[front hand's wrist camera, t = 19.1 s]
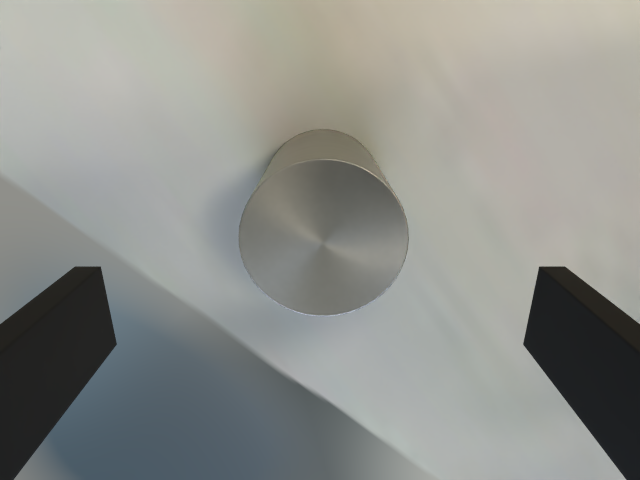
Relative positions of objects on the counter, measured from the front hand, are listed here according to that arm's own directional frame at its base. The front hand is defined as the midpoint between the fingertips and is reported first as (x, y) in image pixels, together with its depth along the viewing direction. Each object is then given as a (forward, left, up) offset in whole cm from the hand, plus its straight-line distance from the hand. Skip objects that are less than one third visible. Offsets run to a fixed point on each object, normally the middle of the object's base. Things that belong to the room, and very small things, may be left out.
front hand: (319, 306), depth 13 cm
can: (0, 0, -14) cm, 14 cm away
